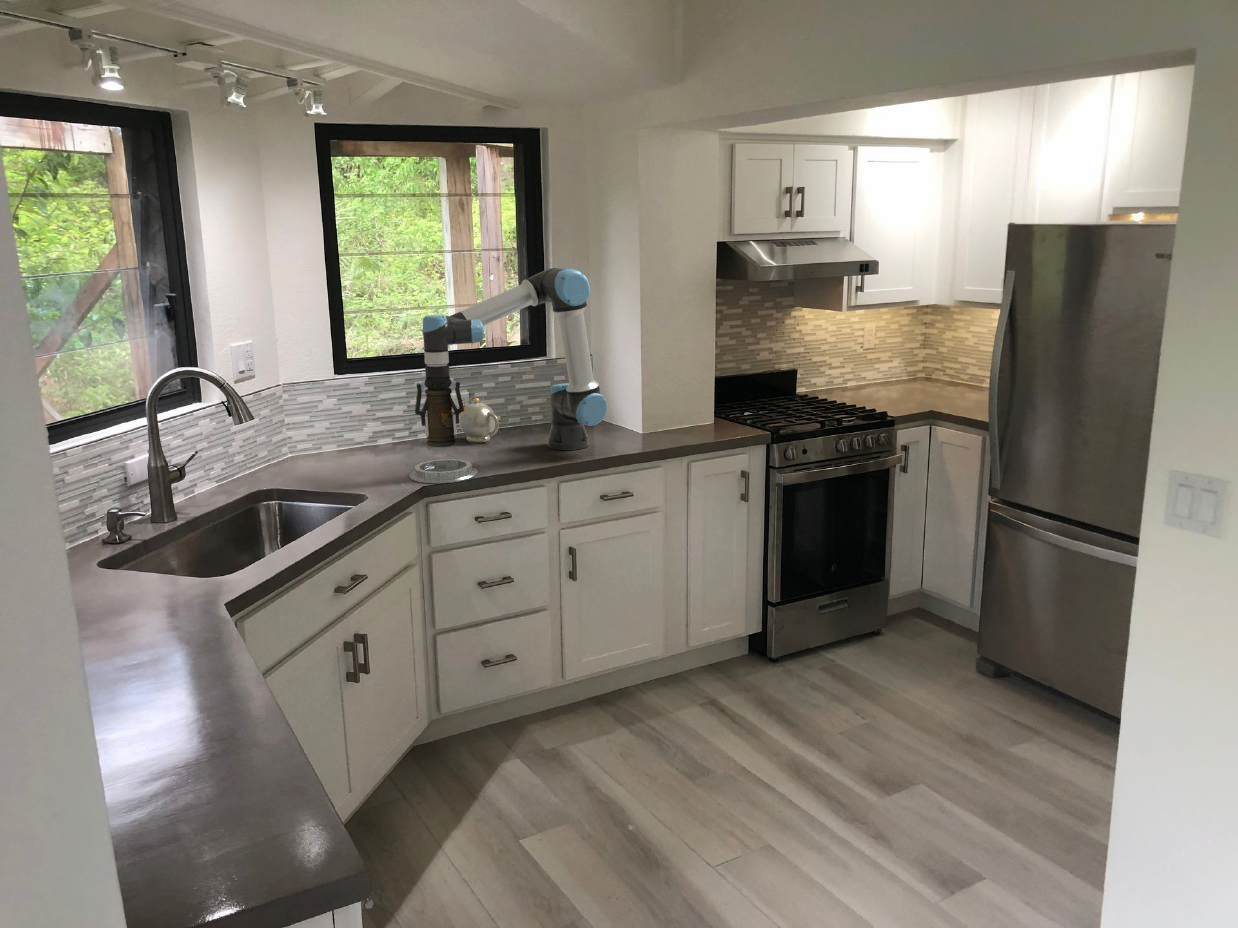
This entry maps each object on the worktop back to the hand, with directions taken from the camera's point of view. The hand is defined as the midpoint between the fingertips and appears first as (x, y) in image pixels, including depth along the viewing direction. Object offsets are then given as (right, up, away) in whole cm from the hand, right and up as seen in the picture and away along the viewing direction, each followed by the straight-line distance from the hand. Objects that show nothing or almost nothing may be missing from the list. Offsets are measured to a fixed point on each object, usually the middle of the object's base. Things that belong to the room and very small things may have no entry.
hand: (441, 434), depth 313 cm
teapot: (+6, -1, +51) cm, 51 cm away
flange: (0, -13, +3) cm, 14 cm away
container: (0, -3, +1) cm, 3 cm away
